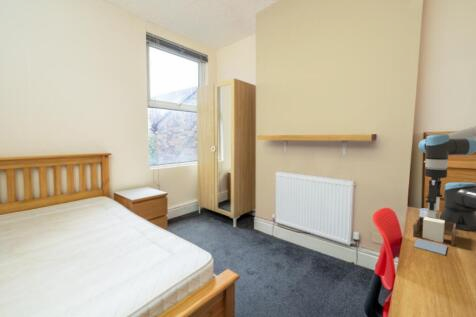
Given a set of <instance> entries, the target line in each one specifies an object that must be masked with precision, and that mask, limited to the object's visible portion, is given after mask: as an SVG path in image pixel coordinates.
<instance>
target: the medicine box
mask: <svg viewBox="0 0 476 317" xmlns="http://www.w3.org/2000/svg"><path fill="white" fill-rule="evenodd" d="M418 212H419V216H418V217H427V212H428V207H427V208H423V207H422V208H419V210H418ZM429 218H433V217H429ZM434 219H439V213H438V212H437V211H436V218H434Z"/></svg>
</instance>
